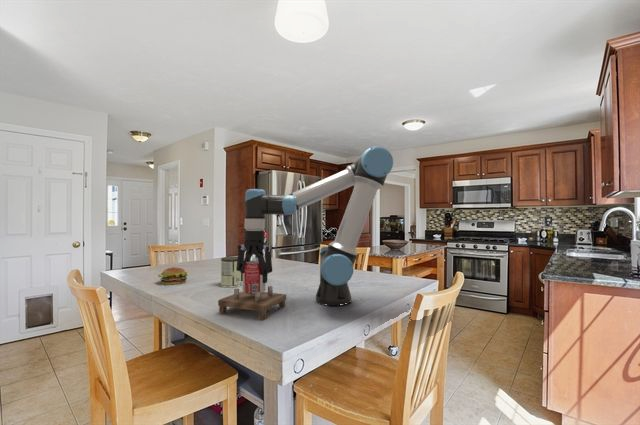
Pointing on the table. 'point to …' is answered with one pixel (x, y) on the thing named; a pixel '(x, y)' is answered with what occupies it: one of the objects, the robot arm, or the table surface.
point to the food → (173, 276)
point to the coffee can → (230, 272)
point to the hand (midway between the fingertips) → (253, 290)
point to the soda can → (252, 277)
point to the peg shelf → (252, 301)
